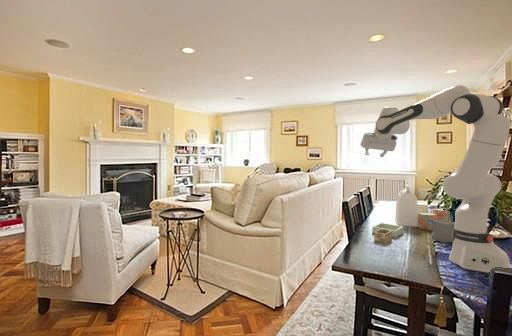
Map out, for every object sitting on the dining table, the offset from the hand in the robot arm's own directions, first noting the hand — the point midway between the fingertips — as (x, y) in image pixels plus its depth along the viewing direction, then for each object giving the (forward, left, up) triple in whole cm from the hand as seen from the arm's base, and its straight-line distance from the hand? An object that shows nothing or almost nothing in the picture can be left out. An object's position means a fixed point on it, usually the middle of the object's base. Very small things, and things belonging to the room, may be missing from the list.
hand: (374, 155), depth 170 cm
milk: (-10, -32, -46) cm, 57 cm away
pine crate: (-12, +16, -46) cm, 50 cm away
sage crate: (-9, 0, -46) cm, 47 cm away
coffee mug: (-37, -9, -46) cm, 60 cm away
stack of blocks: (-28, -33, -46) cm, 63 cm away
